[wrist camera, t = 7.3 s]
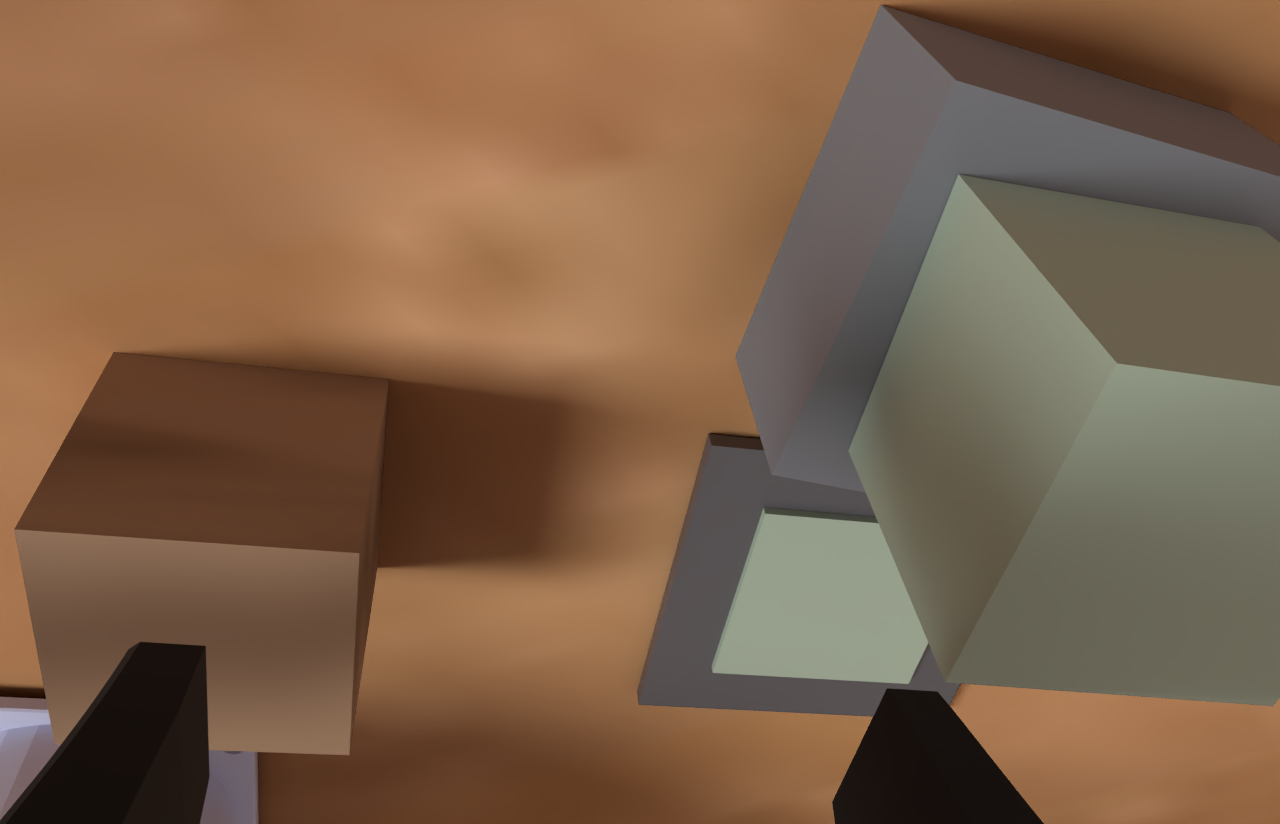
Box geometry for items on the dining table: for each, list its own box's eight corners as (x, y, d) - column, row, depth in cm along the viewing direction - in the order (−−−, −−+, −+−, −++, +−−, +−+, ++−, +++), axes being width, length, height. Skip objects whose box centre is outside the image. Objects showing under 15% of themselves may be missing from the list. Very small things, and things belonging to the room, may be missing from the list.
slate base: (1035, 415, 23) (1119, 540, 20) (733, 349, 22) (771, 475, 18) (1224, 108, 20) (1363, 201, 16) (876, 0, 18) (955, 80, 15)
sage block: (1112, 481, 19) (1272, 705, 15) (848, 451, 18) (945, 681, 14) (1259, 227, 17) (1503, 418, 12) (958, 174, 16) (1116, 363, 11)
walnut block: (377, 565, 24) (349, 754, 20) (135, 548, 23) (55, 744, 19) (389, 376, 21) (359, 553, 17) (114, 350, 20) (14, 529, 16)
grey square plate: (936, 707, 28) (944, 726, 28) (637, 691, 27) (639, 711, 26) (1059, 468, 24) (1070, 485, 23) (708, 433, 22) (713, 451, 22)
